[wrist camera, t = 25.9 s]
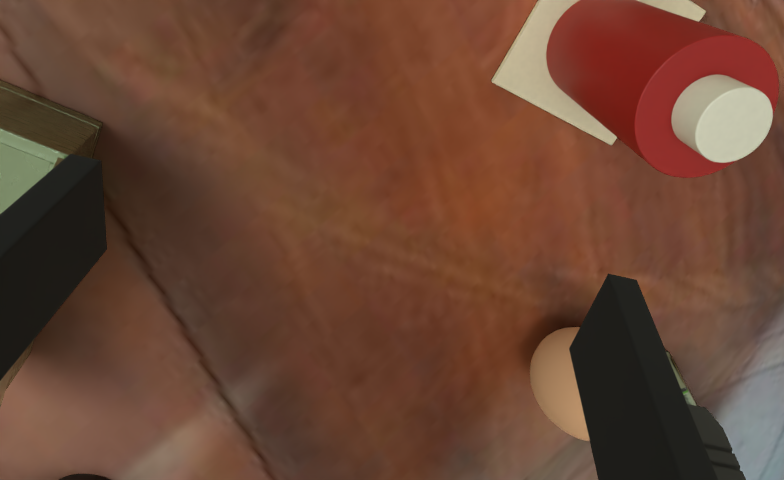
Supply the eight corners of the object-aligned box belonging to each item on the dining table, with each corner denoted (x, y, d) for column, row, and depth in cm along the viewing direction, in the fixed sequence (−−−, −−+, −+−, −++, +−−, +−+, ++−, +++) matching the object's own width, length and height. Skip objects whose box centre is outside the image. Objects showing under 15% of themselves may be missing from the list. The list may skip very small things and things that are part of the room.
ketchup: (586, -28, 34) (731, 15, 21) (668, 24, 35) (846, 91, 23) (526, 71, 36) (625, 161, 24) (606, 115, 38) (737, 219, 26)
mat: (579, -70, 33) (581, -70, 33) (703, 10, 36) (706, 11, 35) (490, 80, 36) (492, 82, 36) (609, 143, 39) (611, 145, 39)
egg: (556, 291, 44) (604, 375, 37) (623, 328, 47) (681, 415, 39) (499, 355, 47) (532, 446, 39) (565, 388, 49) (608, 480, 41)
